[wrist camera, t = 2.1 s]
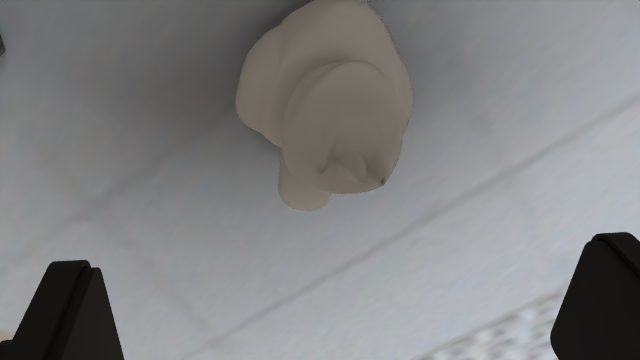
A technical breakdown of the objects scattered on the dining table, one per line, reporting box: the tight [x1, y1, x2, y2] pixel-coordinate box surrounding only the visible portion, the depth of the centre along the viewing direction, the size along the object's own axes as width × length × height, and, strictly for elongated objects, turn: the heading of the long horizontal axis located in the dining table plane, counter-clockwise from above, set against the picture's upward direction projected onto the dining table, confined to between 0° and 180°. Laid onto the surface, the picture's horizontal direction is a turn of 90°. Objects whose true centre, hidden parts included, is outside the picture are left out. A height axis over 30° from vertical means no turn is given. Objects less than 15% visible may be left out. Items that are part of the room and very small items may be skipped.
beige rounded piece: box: [235, 0, 414, 211], centre depth 15 cm, size 5×7×8 cm
